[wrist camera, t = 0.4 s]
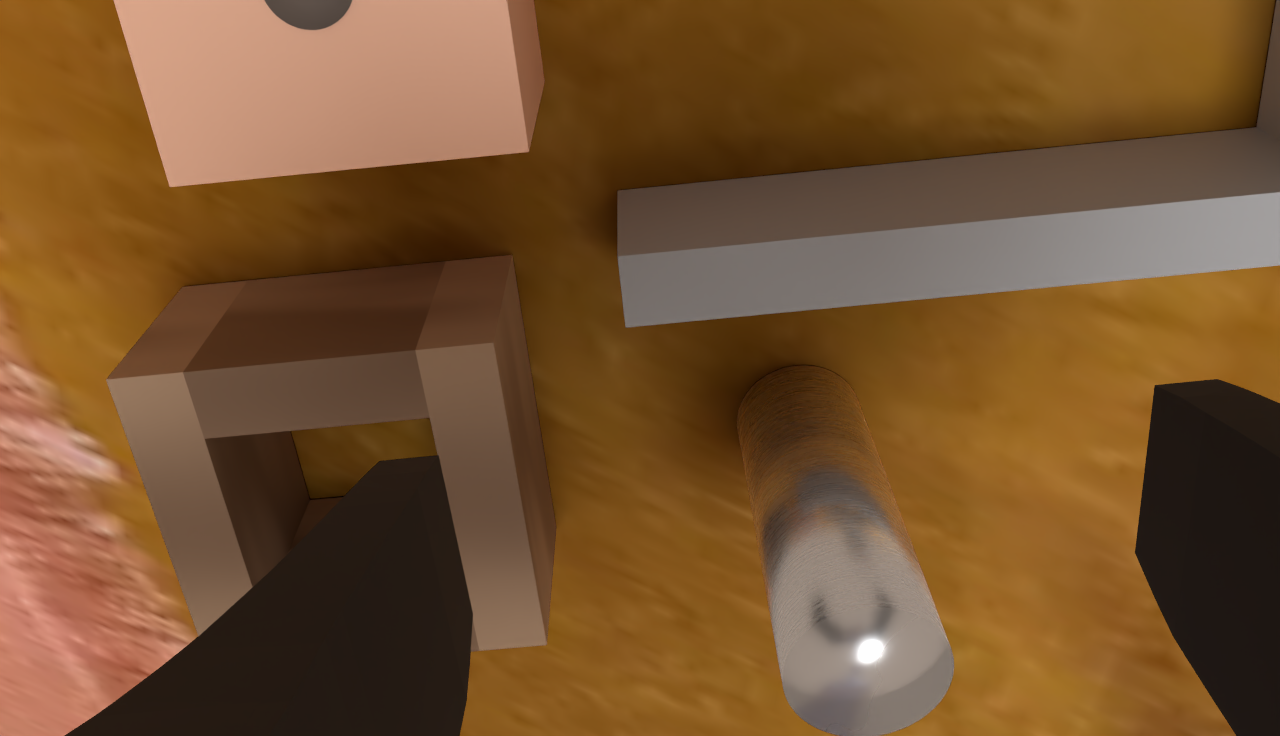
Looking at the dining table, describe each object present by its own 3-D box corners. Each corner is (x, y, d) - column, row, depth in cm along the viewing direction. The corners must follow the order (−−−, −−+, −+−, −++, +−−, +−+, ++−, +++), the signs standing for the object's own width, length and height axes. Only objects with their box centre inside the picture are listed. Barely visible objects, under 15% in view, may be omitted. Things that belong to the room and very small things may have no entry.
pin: (861, 466, 23) (951, 729, 17) (740, 477, 23) (785, 743, 17) (860, 359, 22) (956, 599, 15) (733, 371, 22) (778, 615, 16)
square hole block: (555, 527, 23) (546, 645, 20) (265, 553, 24) (211, 674, 20) (512, 254, 20) (493, 342, 17) (182, 287, 21) (105, 379, 18)
